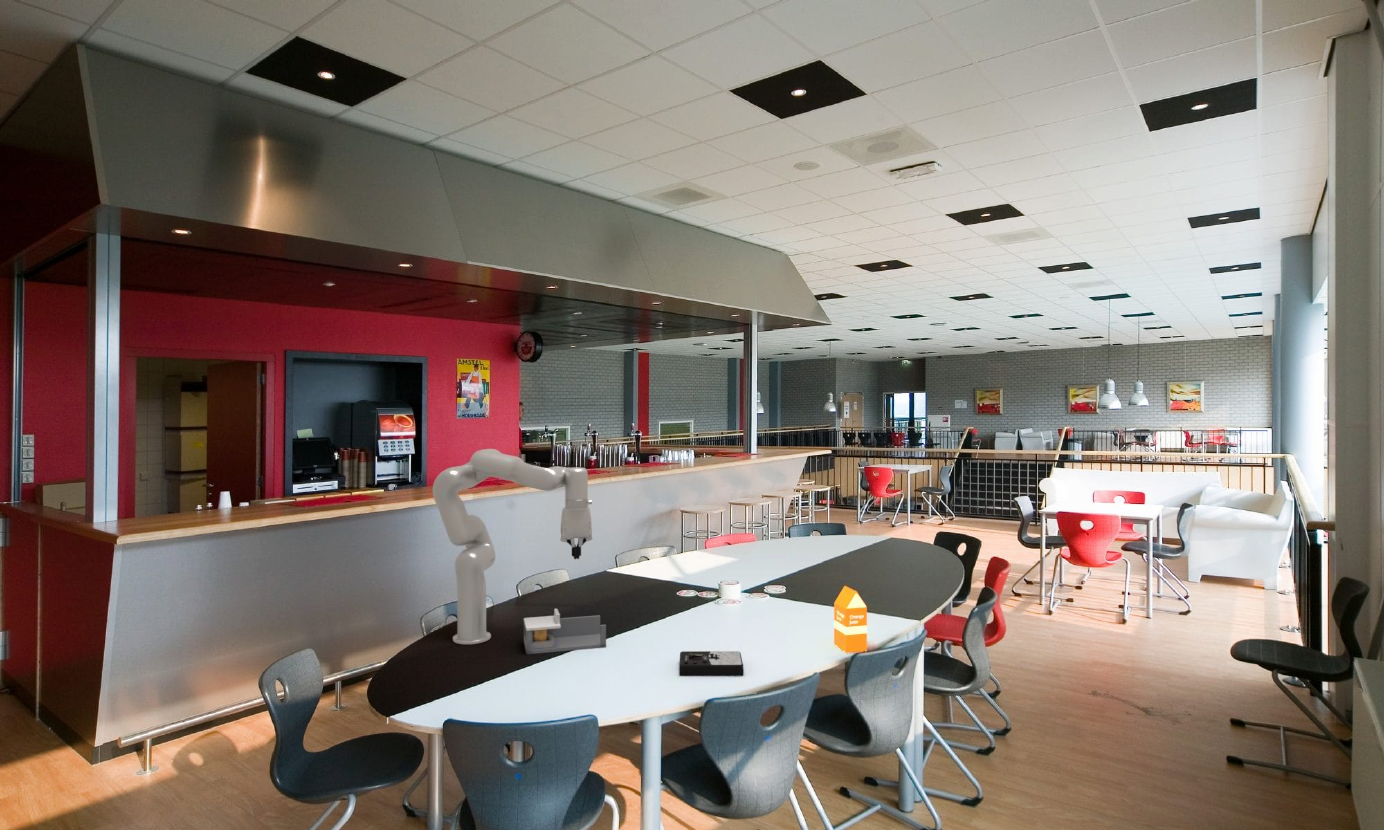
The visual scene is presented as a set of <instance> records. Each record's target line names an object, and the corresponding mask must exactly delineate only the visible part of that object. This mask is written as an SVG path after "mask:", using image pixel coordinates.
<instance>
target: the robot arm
mask: <svg viewBox="0 0 1384 830" xmlns="http://www.w3.org/2000/svg"><path fill="white" fill-rule="evenodd" d="M490 477H492V478H497V479H501V480H505V481H509V482H513V483H515V484H518V485H521V486H524V487H527V488H530V489H536V490H540V491H547V492H551V491H555V490H558V489H562V488H564V498H565V499H564V505H565V507H563V508H562V510H561V511H562V512H561V517H560V539H559V540H560V542H562V543H567V544H568V545H570V547H571V557H573V559H574V560H579V559H580V557H582V547H583V545H584V544H585V543H587V542H590V541H592V540H593V536H592V534H593V527H592V526H593V525H592V516H591V515H592V514H591V509H590V507H589V505H592V504H593V501H592V500H590V499H588V497H589V496H588V492H589V491H588V490H589V489H588V486H589V485H588V484H589V483H588V482H589V481H588V479H589V478H588V477H589V475H588V470H587V468H586V467H578V466H577V467H575V466H574V467H565V466H559V465H557V466H556V465H555V466H550V467H544V466H542V467H541V466H538V465H533V464H530V463H527V462H524V461H523V459H522V458H521V457H519V456H515V455H510V454H505V453H502V452H501V451H499V450H498V449H494V448H486V449H484V448H483V449H480V450H477V451H474V453H473V454H472V456H471V458H470V460H469V461H468V462H467V463H464V464H462V465H459V466H458V465H457V466H452V467H448V468H446V469H444V470H443V471H441V472H440V473H439V474H438V475H437V476H436V478H435V480H433V481H434V482H433V484H432V495H433V500H434V502H435V504H436V506H437V509H438V512H439V514H440V518H441V520H442V524H443V527H444V528H445V531H446V535H447V537H448V539H449V542H451V544H453V545H454V546H457V547H463V546H465V549H463V550H461V551H460V553H458V555H457V557H456V559H455V561H454V570H455V576H456V577H455V578H456V587H457V588H456V590H457V592H456V593H457V595H456V597H457V610H456V611H457V613H456V614H457V615H456V616H457V619H456V620H457V633H456V634H455V635H453V636H452V641H453V642H454V643H455V644H458V645H476V644H481V643H484V642H487V641H489V640H490V639H491V638H492V635H491V633H490V632H489V631H487V583H486V578H485V574H484V572H485V571H486V570H487V569H490V568H491V567H492V566H493V565H494V563H495V561H496V551H495V548H494V544H493V542H492V540H491V537H490V534H489V532H488V529H487V526H486V524H485V522H484V521H483V520H482V519H481V518H480V517H479V516H477V515H474V514H468V512H467V509H466V505H465V503H464V501H463V500H462V498H461V497H460V496H459V492H460V491H464V490H468V489H471V488H473V487H475V486H476V485H478V484H480V483H481V482H483V481H485V480H486V479H488V478H490ZM575 539H578V540H577V544H576V542H575Z"/></svg>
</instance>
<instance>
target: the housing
mask: <svg viewBox="0 0 1384 830" xmlns="http://www.w3.org/2000/svg"><path fill="white" fill-rule="evenodd" d="M560 625H561V628H556V629H547V641H537V642H535V630H532V631H526V627H525V623H524V622H523V644H524V649H525V654H526V655H533V654H546V653H555V652H565V651H578V650H588V649H589V650H590V649H601V648H607V624H601V615H599V614H598V615H588V616H586V615H585V616H575V617H574V616H573V617H560Z"/></svg>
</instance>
